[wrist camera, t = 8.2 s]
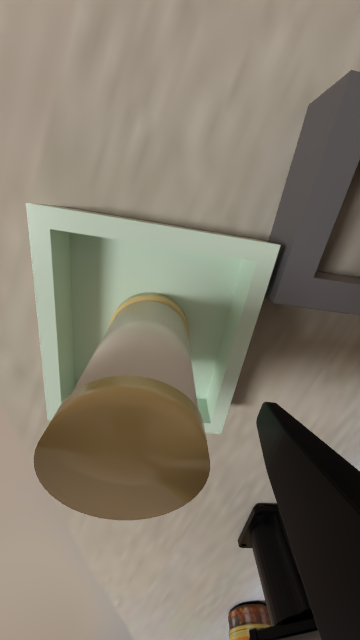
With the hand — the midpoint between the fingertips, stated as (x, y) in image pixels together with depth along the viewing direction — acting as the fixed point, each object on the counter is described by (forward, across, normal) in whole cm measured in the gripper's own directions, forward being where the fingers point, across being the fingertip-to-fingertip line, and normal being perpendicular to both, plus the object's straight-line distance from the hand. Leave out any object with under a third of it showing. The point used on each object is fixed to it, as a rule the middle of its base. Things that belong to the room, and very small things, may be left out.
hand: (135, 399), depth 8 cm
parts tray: (+6, 0, 0) cm, 6 cm away
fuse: (+6, 0, 0) cm, 6 cm away
